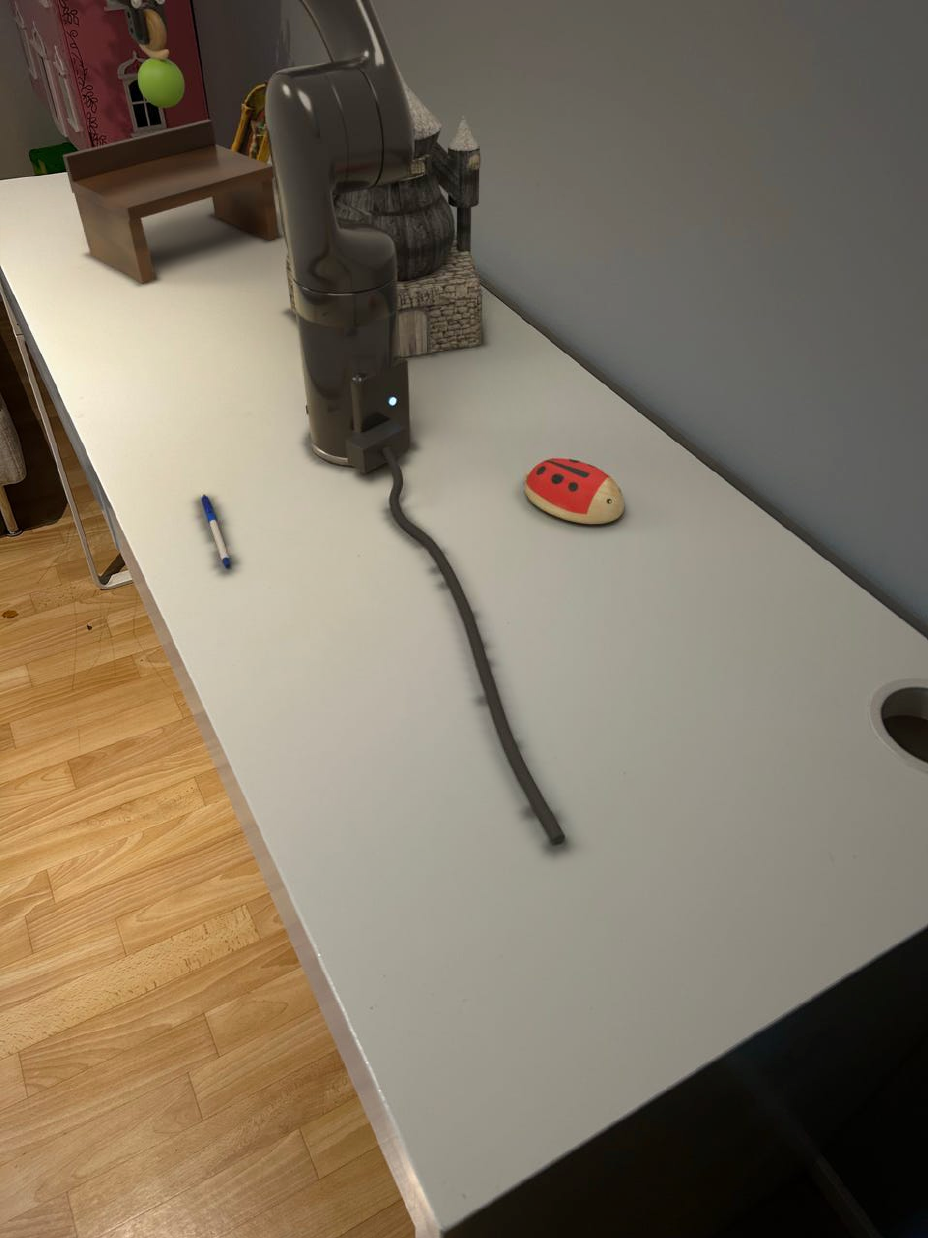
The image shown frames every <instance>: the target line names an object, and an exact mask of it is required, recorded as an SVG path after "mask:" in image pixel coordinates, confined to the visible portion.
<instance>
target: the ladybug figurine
mask: <svg viewBox="0 0 928 1238" xmlns="http://www.w3.org/2000/svg"><path fill="white" fill-rule="evenodd" d="M525 479H526V480H525V482H524V493H525V495H526V496H527V498H528V500H529V501H530V502H531V503H532V504H534V505H535V506H536V507H538V508H539V509H540V510H541V511H544V512H546V513H547V514H550V515H552V516H554V517H556V518H559V519H561V520H565V521H567V522H572V523H577V524H584V525H602V524H608V523H610V522H613V521H616V520H617V519H619V518H620V517H621V516H622V515H623V513H624V510H625V499H624V496H623V493H622V490H621V488H620V486H619V485H618V483H617V482H616V481H615V480H614V479H613V478H612V477H611V476H610V475H609V474H608V473H606V472H605V471H603V470H601V468H598V467H596V466H594V465H591V464H589V463H586V462H582V461H580V460H577V459H571V458H563V457H562V458H558V457H556V458H554V457H553V458H552V457H551V458H548V459H545V460H543V461H541V462H539V463H538V464H536V465H535V466H534V467H533V468H532V469H531V470H526V473H525Z"/></svg>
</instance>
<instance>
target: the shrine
mask: <svg viewBox="0 0 928 1238" xmlns="http://www.w3.org/2000/svg"><path fill="white" fill-rule="evenodd" d="M269 80H270V78H269V79H265V80H264V83H263V84H260V85H257V86H255V88H253V89H252V90H251V91H250V92H249V94H247V97H246V99H245V100H244V103H241V110H242V112H241V117H240V121H239V124H238V128H237V130H236V134H235V136H234V137H235V138H234V141H233V143H232V146H231V148H230V150H232V151H235V152H237V153H240V154H243V155H245V156H248V157H250V158H253V159H256V160H258V161H261V162H263V163H266V164H268V162H269V159H270V157H271V156H270V150H269V145H268V138H267V132H266V123H265V94H266V89H267V85H268V83H269Z"/></svg>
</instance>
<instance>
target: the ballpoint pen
mask: <svg viewBox="0 0 928 1238" xmlns="http://www.w3.org/2000/svg"><path fill="white" fill-rule="evenodd" d="M201 504H202V508H203V510H204V513H205V516H206V519H207V520H206V521H207V522H208V524H209V526H210V529H211V532H212V535H213V538H214V541H215V544H216V547H217V550H218V553H219V556H220V559H221V562H222V564H223V565H224V567H225V568H226V569H229V568H230V567H231V561H230V557H229V553H228V551H227V549H226V545H225V542H224V540H223V536H222V534H221V533H222V532H221V530H220V527H219V525H218V519H217V517H216V514H215V512H214V508H213V506H212V503H211V500H210V499H209V497H208V496H207V495H206V494H202V496H201Z"/></svg>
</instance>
